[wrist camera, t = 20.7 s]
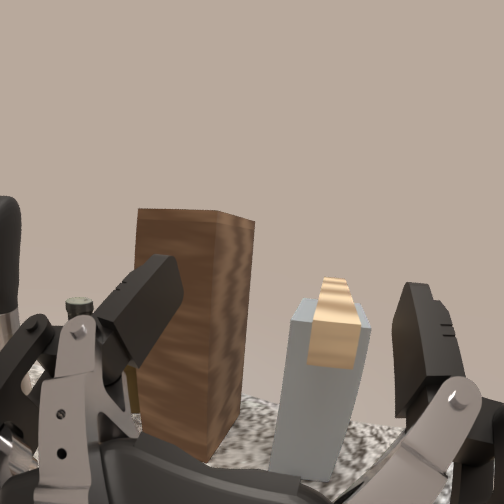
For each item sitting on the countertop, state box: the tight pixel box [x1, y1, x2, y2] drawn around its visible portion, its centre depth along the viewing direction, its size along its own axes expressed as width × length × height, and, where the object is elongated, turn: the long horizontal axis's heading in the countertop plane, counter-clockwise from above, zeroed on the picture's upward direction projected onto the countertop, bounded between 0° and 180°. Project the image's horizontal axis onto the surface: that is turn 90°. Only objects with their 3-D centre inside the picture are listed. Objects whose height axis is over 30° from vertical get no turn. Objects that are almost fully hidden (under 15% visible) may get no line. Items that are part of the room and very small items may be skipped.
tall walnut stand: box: [134, 209, 255, 463], centre depth 37 cm, size 14×10×32 cm
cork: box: [124, 365, 140, 413], centre depth 41 cm, size 6×6×11 cm
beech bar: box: [306, 277, 361, 370], centre depth 28 cm, size 24×3×3 cm, turn 164°
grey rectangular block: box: [268, 298, 371, 482], centre depth 32 cm, size 12×8×22 cm, turn 164°
